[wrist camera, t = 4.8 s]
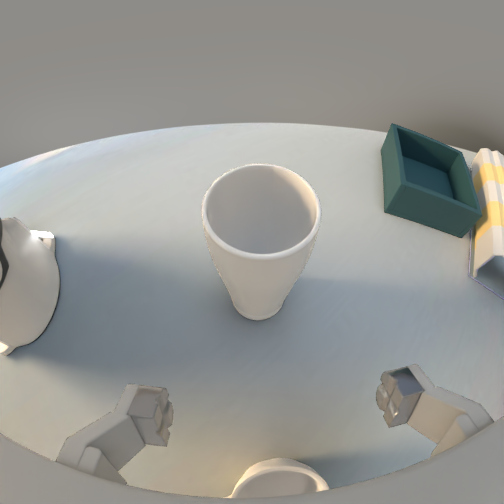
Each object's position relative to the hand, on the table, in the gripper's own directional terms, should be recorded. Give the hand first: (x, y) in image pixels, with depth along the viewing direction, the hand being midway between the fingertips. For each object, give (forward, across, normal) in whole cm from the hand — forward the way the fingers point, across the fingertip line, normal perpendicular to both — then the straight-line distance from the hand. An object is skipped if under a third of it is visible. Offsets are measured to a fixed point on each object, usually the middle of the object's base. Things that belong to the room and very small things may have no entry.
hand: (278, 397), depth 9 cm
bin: (+29, -26, -6) cm, 39 cm away
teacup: (+4, 0, +19) cm, 19 cm away
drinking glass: (+19, 0, +5) cm, 19 cm away
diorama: (+24, -40, -1) cm, 46 cm away
